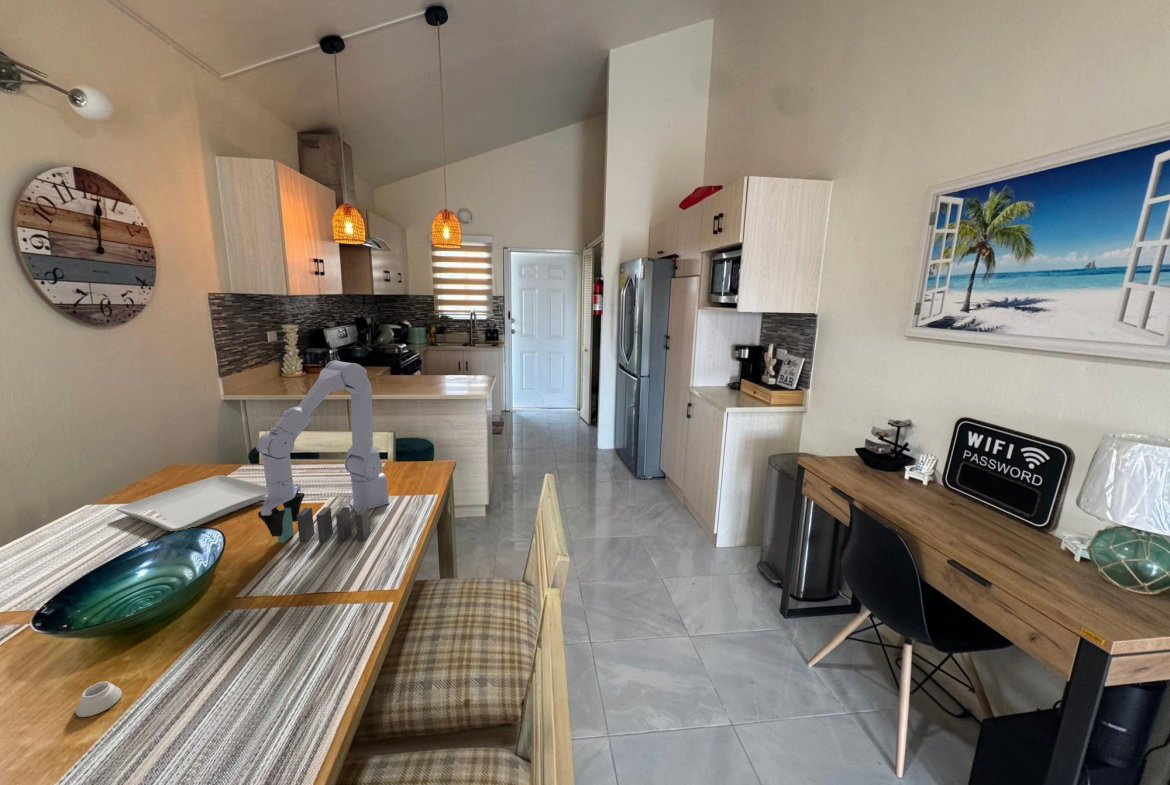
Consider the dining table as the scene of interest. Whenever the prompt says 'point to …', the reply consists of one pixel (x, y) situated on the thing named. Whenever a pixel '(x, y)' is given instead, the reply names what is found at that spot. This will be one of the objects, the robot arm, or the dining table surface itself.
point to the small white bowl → (98, 699)
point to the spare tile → (286, 526)
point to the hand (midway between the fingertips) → (285, 528)
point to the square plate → (197, 502)
